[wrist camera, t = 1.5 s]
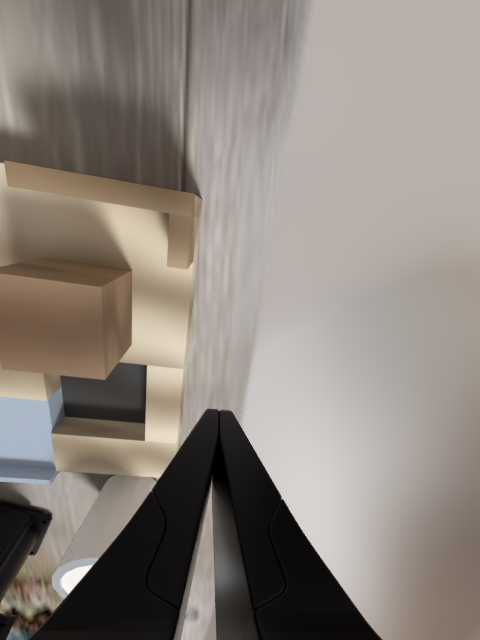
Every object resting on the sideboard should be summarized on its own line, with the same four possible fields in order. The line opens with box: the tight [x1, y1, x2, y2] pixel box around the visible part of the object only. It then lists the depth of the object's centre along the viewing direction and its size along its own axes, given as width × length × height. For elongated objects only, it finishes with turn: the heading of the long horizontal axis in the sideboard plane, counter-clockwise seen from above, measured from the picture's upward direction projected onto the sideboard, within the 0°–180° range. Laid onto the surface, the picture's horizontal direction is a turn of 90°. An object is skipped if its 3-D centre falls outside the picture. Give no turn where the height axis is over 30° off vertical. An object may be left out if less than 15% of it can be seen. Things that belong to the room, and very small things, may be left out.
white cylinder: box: [52, 475, 156, 598], centre depth 22 cm, size 7×7×7 cm
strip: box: [0, 388, 65, 485], centre depth 20 cm, size 8×6×3 cm
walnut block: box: [0, 258, 132, 380], centre depth 14 cm, size 5×5×4 cm
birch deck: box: [0, 160, 202, 478], centre depth 17 cm, size 22×16×4 cm
